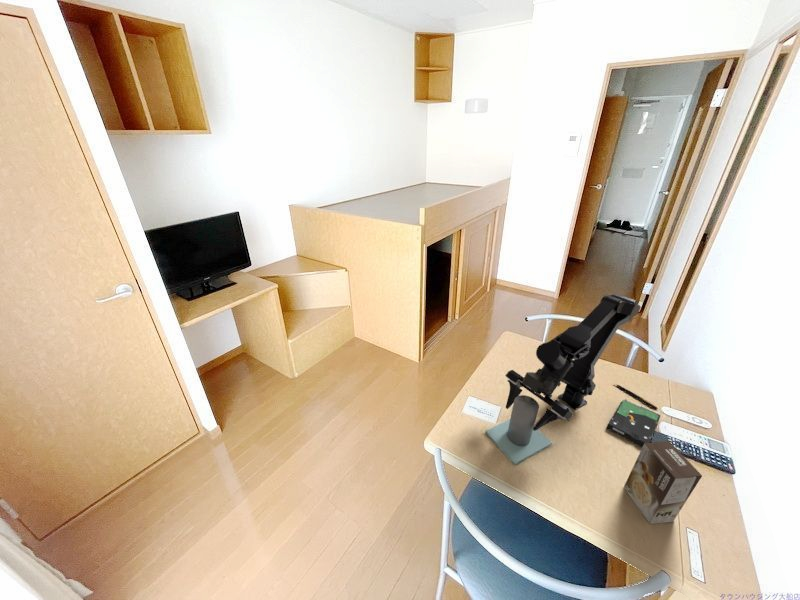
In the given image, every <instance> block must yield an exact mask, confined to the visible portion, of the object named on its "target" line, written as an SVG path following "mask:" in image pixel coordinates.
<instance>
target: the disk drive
mask: <svg viewBox="0 0 800 600" xmlns="http://www.w3.org/2000/svg"><path fill="white" fill-rule="evenodd" d="M660 419H661V415H660V414H659V413H657V412H654V411H652V410H650V409H647V408H645V407H643V406H640V405H637V404H635V403H633V402H631V401H629V400H628V399H626V398H625V399H622V401H620V402H619V405H618V407H617V408H616V410H615V412H614V414H613V415H612V417H611V418H610V420H609V422H608V424H607V426H606V429H607V430H609V431H610V432H612V433H614V434H616V435H618V436H620V437H622V438H624V439H626V440H627V441H630V442H631V443H633V444H635V445H637V446H639V447H641V448H642V447H643V445H644V443H651V440H652V437H653V434H654V432H655V430H656V428H657V425H658V423H659V421H660Z"/></svg>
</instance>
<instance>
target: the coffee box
mask: <svg viewBox="0 0 800 600" xmlns="http://www.w3.org/2000/svg"><path fill="white" fill-rule="evenodd" d="M637 456H638V457H637V458H636V460H635V463H634V464H633V466H632V468H631V470H630V473H629V474H628V476H627V479H626V481H625V483H624V486H623V488H624V489H625V491H626V492H627V493H628V495H629V496H630V498H631V499H632V501H633V502H634V504H635V505H636V506H637V508H638V509H639V510H640V512H641V514H642V515H643V516H644V517H645V519H646V521H648V523H649V524H651V525H654V524H664V523H672V522H675V520H676V518H677V516H678V515H679V513H680V512H681V510H682V508H683V507H684V505H685V504H686V502H687V501H688V499H689V497H690V496H691V494H692V493H693V491H694V490H695V488H696V487H697V485H698V483H699V481H700V480H701V479H702V477H703V474H701V473H700V472H699V471H698V470H697V468H696V467H694V466H693V464H692V463H691V462H690V461H689V460H688V459H687V458H686V457H685V456H684V455H683V454H682V453H681V452H680V451H679V450H678V448H676V447H675V445H673V444H672V443H671V441H669V440H660V441H659V440H658V441H652V442H649V443H644V445H643V447H641V449H640V452H639V454H638V455H637Z"/></svg>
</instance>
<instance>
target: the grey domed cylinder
mask: <svg viewBox="0 0 800 600" xmlns="http://www.w3.org/2000/svg"><path fill="white" fill-rule="evenodd" d="M539 409H540V405H539V402H538V401H537V400H536V399H535V398H533V397H532V396H529V395H525V394H524V395H523V394H520V395H519V396H517V397H516V398H515V399H514V403H513V404H512V408H511V414H510V418H509V419H510V422H509V427H508V432H507V436H508V439H509V440H510V441H511V442H512V443H513V444H515V445H518V446H526V445H528V444H529V443H530V440H531V436H532V432H533V428H534V426H535V425H536V421H537V417H538V414H539V413H538V412H539Z"/></svg>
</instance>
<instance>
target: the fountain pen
mask: <svg viewBox="0 0 800 600" xmlns="http://www.w3.org/2000/svg"><path fill="white" fill-rule="evenodd" d="M613 385H615V386H616V387H617V388H618V389H620V390H622V391H623V392H625V393H626V394H628V395H629V396H632V397H633V398H634V399H637V400H638V401H640V402H641V403H643V404H645V405H646V406H649V407H650V408H653V409H655V410H658V407H657V406H656V405H655V404H653V403H652V402H650V401H649V400H647V399H645V398H643V397H642V396H640V395H638V394H637V393H634V392H632V391H630V390H628V389H627V388H625V387H624V386H621V385H619V384H616V383H615V382H613Z"/></svg>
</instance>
